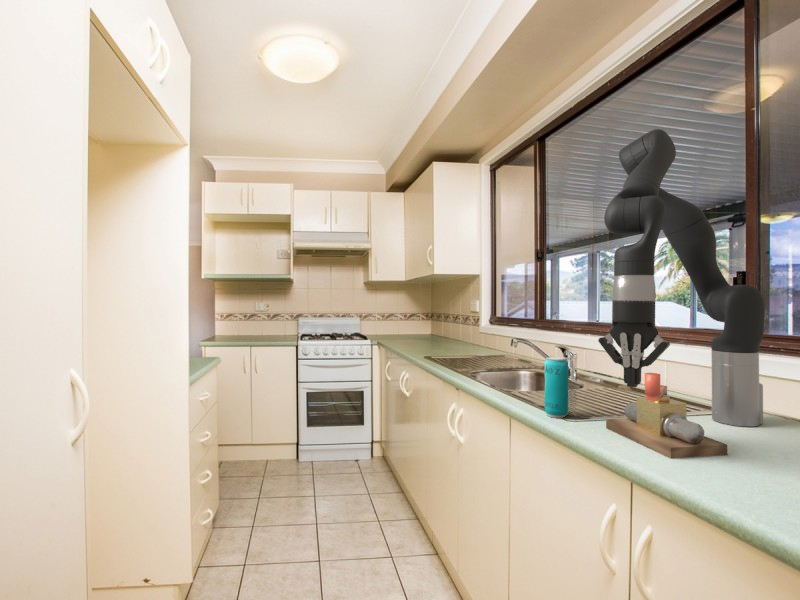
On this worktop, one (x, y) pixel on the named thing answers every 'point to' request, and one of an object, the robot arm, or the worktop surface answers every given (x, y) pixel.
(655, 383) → the valve lever
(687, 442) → the valve board
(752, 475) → the worktop surface
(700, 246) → the robot arm
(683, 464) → the worktop surface
